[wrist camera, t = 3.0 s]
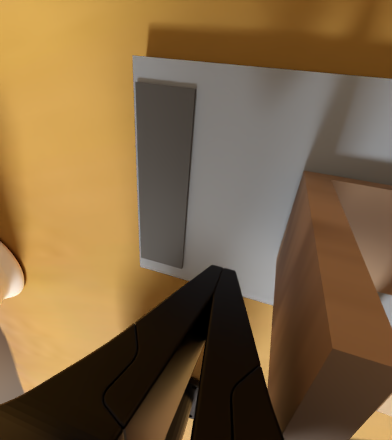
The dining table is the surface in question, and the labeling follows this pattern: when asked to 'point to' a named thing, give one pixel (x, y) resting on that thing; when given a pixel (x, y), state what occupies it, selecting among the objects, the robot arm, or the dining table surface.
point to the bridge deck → (245, 160)
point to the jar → (9, 274)
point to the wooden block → (332, 309)
